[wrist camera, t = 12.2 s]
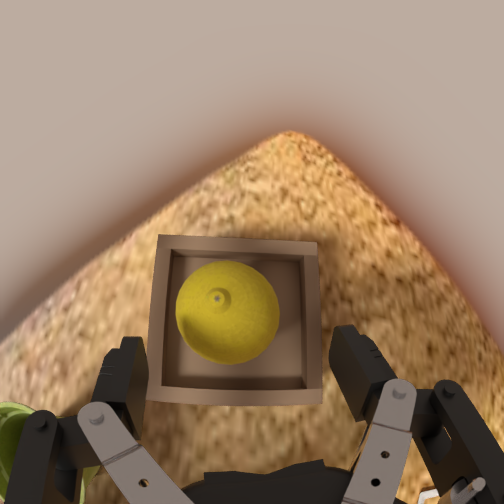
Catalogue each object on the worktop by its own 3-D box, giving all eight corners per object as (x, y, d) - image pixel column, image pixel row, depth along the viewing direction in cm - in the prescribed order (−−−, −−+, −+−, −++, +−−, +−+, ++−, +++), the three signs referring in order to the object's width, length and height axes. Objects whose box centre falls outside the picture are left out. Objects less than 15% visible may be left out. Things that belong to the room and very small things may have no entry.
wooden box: (164, 393, 24) (145, 399, 17) (172, 269, 28) (158, 234, 21) (295, 396, 25) (322, 403, 18) (293, 274, 29) (316, 242, 22)
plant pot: (76, 379, 23) (24, 377, 15) (142, 466, 21) (111, 500, 13) (16, 426, 20) (-40, 433, 12) (74, 507, 18) (32, 540, 10)
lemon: (263, 375, 20) (259, 381, 12) (184, 348, 21) (137, 337, 13) (288, 296, 21) (297, 256, 14) (211, 273, 22) (181, 225, 15)
